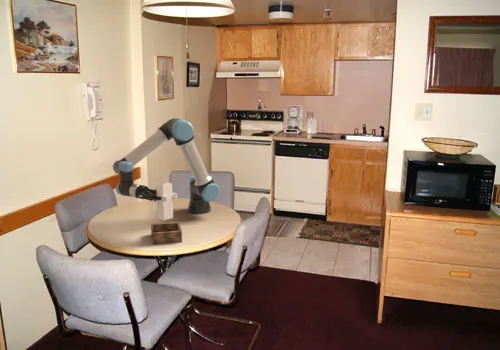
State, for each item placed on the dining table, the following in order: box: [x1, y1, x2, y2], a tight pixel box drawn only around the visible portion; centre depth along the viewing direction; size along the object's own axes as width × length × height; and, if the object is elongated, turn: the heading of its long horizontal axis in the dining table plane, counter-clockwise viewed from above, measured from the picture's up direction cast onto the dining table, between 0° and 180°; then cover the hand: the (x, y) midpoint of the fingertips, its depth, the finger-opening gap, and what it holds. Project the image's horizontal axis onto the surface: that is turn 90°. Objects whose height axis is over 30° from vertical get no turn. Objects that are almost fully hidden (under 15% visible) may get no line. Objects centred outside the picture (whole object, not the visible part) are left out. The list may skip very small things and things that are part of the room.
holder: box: [150, 221, 183, 245], centre depth 228 cm, size 15×15×6 cm
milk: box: [155, 176, 174, 221], centre depth 224 cm, size 6×6×22 cm
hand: (171, 197), depth 221 cm, fingers closed on milk, 7 cm apart
